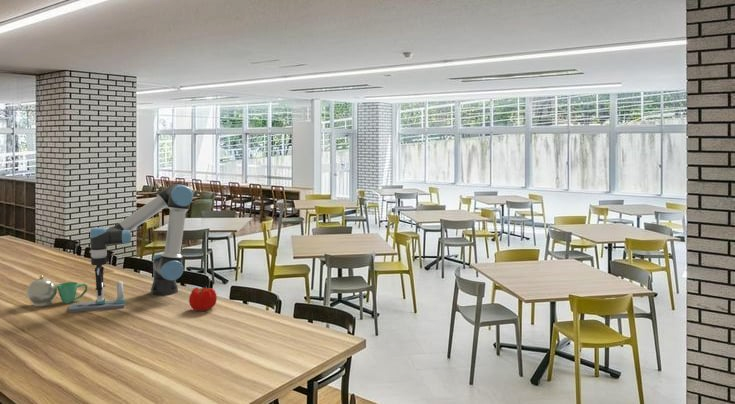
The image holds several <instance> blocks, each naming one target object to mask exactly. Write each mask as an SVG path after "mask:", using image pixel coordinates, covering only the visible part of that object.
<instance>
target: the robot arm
mask: <svg viewBox="0 0 735 404" xmlns="http://www.w3.org/2000/svg"><path fill="white" fill-rule="evenodd" d="M193 199H194V193H193V191H192V189H191V188H190V187H189V186H188V185H185V184H179V183H173V184H170V185H168V186H167V187H166V188H164V189H162V191H160V192H159V193H157V194H156V197H155V198H153V199H152V200H150V201H149V202H147V203H146V204H145V205H143V206H142V207H139V209H137V210H136V211H134V212H133V213H132V214H130V215H128V216H127V217H126V218H124V219H123V220H120V221H119V222H118V223H117V224H115V225H113V226H110V227H108V228H106V227H101V226H100V227H98V226H97V227H92V228H91V229H90V231H89V232H90V235H89V239H90V240H89V241H90V242H89V243H90V250H89V254H90V257H91V258H90V264H91V265H92V266H95V268H94V275H95V288H94V290H95V291H96V299H97V302H101V301H103V298H104V288H105V286H106V285H104V274H105V273H104V271H105V270H104V269H105V267H104V265H107V263H108V257H107V256H108V249H107V248H108V247H107V246H112V245H126V244H130V243H131V241H132V233H131V232H132V231H134V229H136V228H138V227H139V226H140V225H142V224H143V223H145V222H146V221H147V220H149V219H150V218H152V217H153V216H155V215H156V214H158V213H159V212H161V211H163V209H165V208H167V209H169V217H168V224H167V231H166V238H165V246H164V252H163V253H156V254H154V255H152V256H153V258H152V268H153V281H152V284H151V287H150V294H151V295H154V296H167V295H172V294H176V293H178V292H179V287H178V284H177V281H176V280H178V279H179V278H181V276H182V275H183V273H184V265H183V257H184V256H183V255H182V254H181V252H182V244H183V237H184V229H185V222H186V221H185V220H186V213H187V212H188V211H189V210H190V204H191V203H192V202H193ZM102 283H103V289H102ZM104 299H105V298H104Z"/></svg>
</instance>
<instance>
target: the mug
mask: <svg viewBox="0 0 735 404" xmlns="http://www.w3.org/2000/svg"><path fill="white" fill-rule="evenodd" d="M56 287H57V292H58V295H59V298H60V300H61V302H62V303H63V304H72V303H74V301H76V300H78V299H80V298H82V297H83V296H84V295H85V294H86V293H87V291H88V284H86V283H85V282H83V283H82V282H81V283H79V284H78V282H75V281H71V282H69V281H68V282H61V283H59V284H57V285H56ZM80 287H85V288H84V290H83V292H82V293H80V295H77V289H78V288H80ZM76 295H77V296H76Z"/></svg>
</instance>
